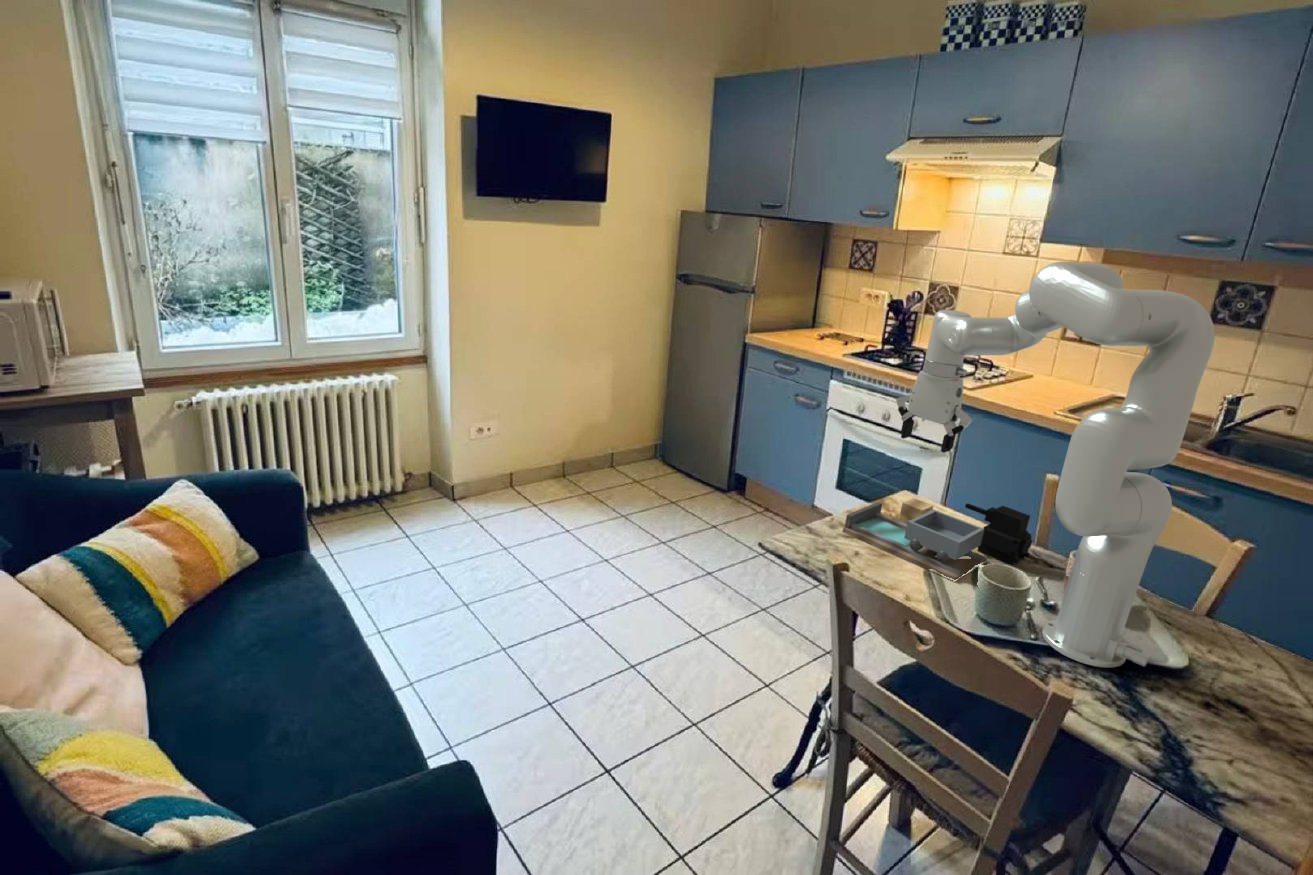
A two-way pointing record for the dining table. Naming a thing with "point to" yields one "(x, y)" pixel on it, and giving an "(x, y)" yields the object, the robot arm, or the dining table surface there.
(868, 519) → the track
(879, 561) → the dining table surface
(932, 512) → the cart
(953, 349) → the robot arm
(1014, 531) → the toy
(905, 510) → the block
